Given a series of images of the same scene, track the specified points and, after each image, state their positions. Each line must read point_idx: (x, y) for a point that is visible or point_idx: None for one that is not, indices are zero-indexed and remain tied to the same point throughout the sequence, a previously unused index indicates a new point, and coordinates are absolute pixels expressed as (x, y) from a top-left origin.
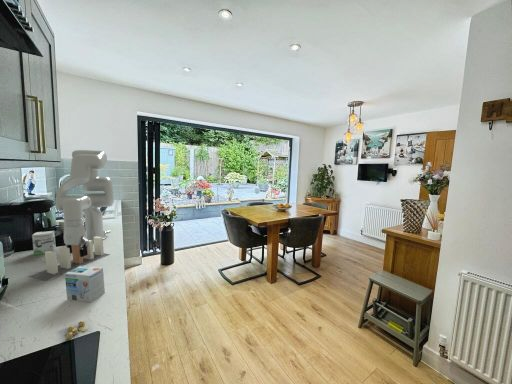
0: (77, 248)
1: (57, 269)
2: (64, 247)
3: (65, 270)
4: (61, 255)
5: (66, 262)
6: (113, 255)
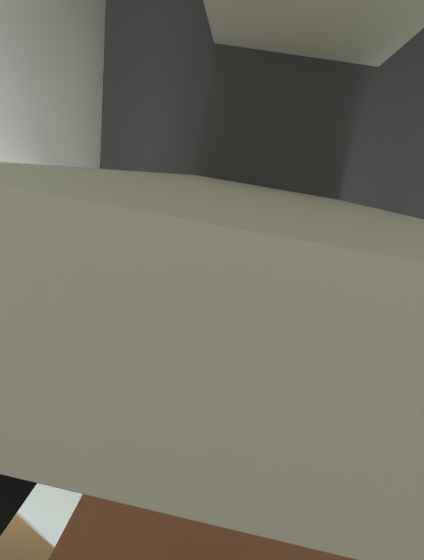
0: (104, 546)
1: (208, 10)
2: (407, 518)
3: (177, 126)
4: (358, 211)
5: (188, 176)
6: (59, 508)
